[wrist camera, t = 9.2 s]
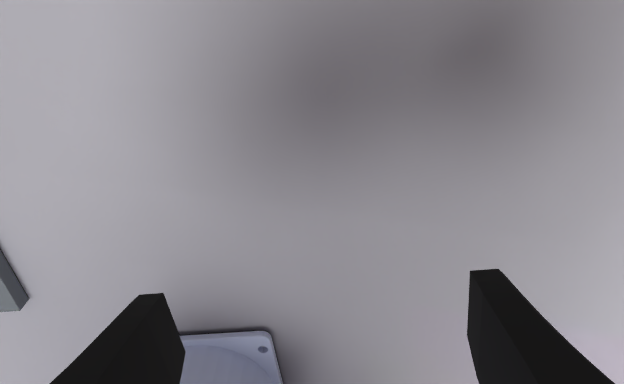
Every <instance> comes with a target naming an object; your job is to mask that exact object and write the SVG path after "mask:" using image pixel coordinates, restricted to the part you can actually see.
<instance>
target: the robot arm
mask: <svg viewBox="0 0 624 384" xmlns="http://www.w3.org/2000/svg"><path fill="white" fill-rule="evenodd" d="M467 336H468V341H469V345H470V350H471V354H472V358H473V362H474V367H475V371H476V375H477V379H478V381H479V384H615V383H614V382H612V381H611V380H610V379H609V378H608V377H607V376H605V375H604V374H603V373H602V372H601V371H600V370H599V369H598V368H596V367H595V366H594V365H593V364H592V363H591V362H590V361H589V360H587V359H586V358H585V357H584V356H583V355H582V354H581V353H580V352H579V351H578V350H577V349H576V348H574V347H573V346H572V345H571V344H570V343H569V342H568V341H567V340H566V339H565V338H564V337H563V336H562V335H561V334H560V333H559V332H558V331H557V330H556V329H555V328H554V327H553V326H552V325H551V324H550V323H549V322H548V321H547V320H546V319H545V318H544V317H543V316H542V315H541V314H540V313H539V312H538V311H537V310H536V309H535V308H534V307H533V306H532V304H531V303H530V302H529V301H528V300H527V299H526V298H525V297H524V296H523V295H522V294H521V293H520V292H519V290H518V289H517V288H516V287H515V286H514V285H513V284H512V283H511V282H510V280H509V279H508V278H507V277H506V276H505V275H504V274H503V273H502V272H501V271H500V270H499V269H489V270H475V271H470V285H469V307H468V329H467ZM261 346H265V347H261ZM50 384H283V382H282V378H281V374H280V370H279V366H278V362H277V358H276V353H275V349H274V345H273V341H272V337H271V335H270V334H269V333H268V332H265V331H249V332H233V333H217V334H201V335H185V336H179V333H178V330H177V328H176V325H175V322H174V320H173V317H172V315H171V312H170V309H169V307H168V304H167V302H166V299H165V296H164V294H163V293H158V294H144V295H139V296H138V297H136V298H135V299H134V300H133V301H132V302H131V303H130V304H129V305H128V306H127V307H126V308H125V309H124V310H123V311H122V312H121V313H120V314H119V315H118V316H117V317H116V319H115V320H114V321H113V322H112V323H111V324H110V325H109V326H108V327H107V328H106V329H105V330H104V331H103V332H102V333H101V334H100V335H99V336H98V337H97V338H96V339H95V340H94V341H93V342H92V343H91V344H90V345H89V346H88V347H87V348H86V349H85V350H84V351H83V352H82V353H81V354H80V355H79V356H78V357H77V358H76V359H75V360H74V361H73V362H72V363H71V364H70V365H69V366H68V367H67V368H66V369H65V370H64V371H63V372H62V373H61V374H60V375H58V376H57V377H56V378H55V379H54V380H53V381H52V382H51V383H50Z"/></svg>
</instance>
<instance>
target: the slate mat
mask: <svg viewBox="0 0 624 384" xmlns="http://www.w3.org/2000/svg"><path fill="white" fill-rule="evenodd" d="M28 300H29V299H28V297H27V295H26V294H25V292H24V290H23V288H22V287H21V285H20V283H19V281H18V280H17V278H16V276H15V274H14V273H13V271H12V269H11V267H10V266H9V264H8V262H7V260H6V259H5V257H4V255H3V253H2V252H1V250H0V312H9V311H20V310H21V309H22V308H23V306H24V305H25V304H26V302H27V301H28Z"/></svg>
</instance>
